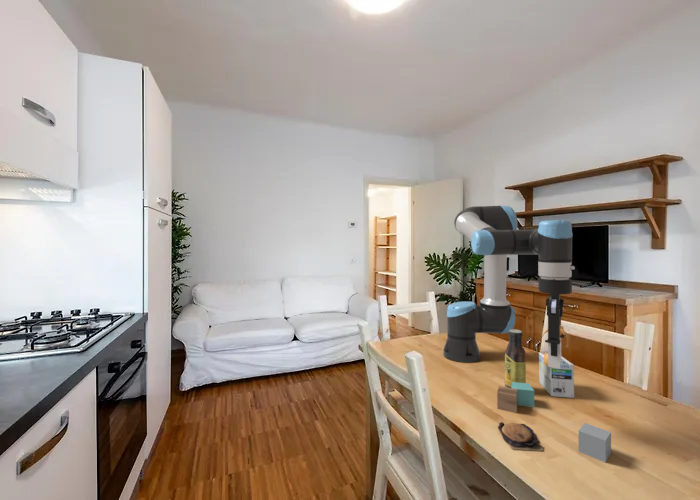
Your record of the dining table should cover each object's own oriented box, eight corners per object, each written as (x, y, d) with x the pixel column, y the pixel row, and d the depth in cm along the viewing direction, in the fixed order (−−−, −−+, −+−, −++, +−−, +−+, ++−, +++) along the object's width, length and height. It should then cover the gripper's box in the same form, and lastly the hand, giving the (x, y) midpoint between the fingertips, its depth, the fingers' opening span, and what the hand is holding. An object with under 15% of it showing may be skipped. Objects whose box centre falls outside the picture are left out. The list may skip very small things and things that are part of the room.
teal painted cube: (511, 397, 100) (511, 382, 100) (529, 399, 99) (529, 383, 99) (515, 405, 95) (515, 389, 95) (534, 407, 94) (534, 390, 94)
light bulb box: (575, 398, 99) (574, 364, 98) (551, 397, 100) (551, 363, 100) (559, 384, 109) (559, 353, 109) (538, 382, 110) (538, 351, 110)
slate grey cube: (584, 443, 77) (584, 422, 77) (611, 453, 73) (611, 432, 73) (578, 451, 74) (578, 430, 74) (605, 463, 70) (605, 440, 70)
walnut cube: (499, 401, 97) (499, 385, 97) (517, 405, 95) (517, 389, 95) (497, 409, 93) (497, 392, 93) (516, 413, 91) (516, 396, 90)
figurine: (534, 362, 89) (530, 322, 88) (553, 357, 90) (549, 317, 89) (558, 376, 81) (554, 332, 80) (578, 371, 82) (575, 327, 81)
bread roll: (547, 455, 73) (547, 439, 73) (509, 452, 74) (509, 437, 74) (527, 428, 84) (527, 414, 84) (494, 426, 85) (494, 412, 85)
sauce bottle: (503, 384, 109) (503, 327, 109) (524, 386, 107) (523, 328, 107) (506, 392, 103) (505, 332, 103) (527, 395, 101) (527, 333, 101)
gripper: (571, 282, 75) (571, 379, 76) (572, 275, 89) (572, 357, 90) (535, 280, 80) (535, 372, 80) (541, 274, 94) (541, 352, 94)
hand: (554, 364), depth 85 cm, fingers closed on figurine, 4 cm apart
